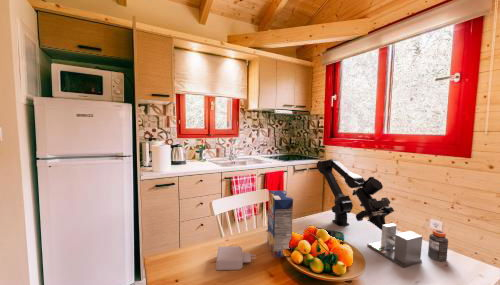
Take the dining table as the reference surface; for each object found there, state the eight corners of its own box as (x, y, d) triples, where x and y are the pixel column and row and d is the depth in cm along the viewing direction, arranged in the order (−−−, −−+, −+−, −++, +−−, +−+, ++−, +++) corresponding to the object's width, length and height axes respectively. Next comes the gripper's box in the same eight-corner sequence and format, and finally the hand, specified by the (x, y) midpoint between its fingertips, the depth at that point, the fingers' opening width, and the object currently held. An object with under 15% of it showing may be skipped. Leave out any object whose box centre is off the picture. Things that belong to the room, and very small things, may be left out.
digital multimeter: (312, 231, 112) (312, 225, 112) (343, 237, 106) (343, 231, 106) (310, 238, 105) (311, 232, 105) (344, 244, 100) (344, 238, 99)
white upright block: (376, 248, 94) (378, 225, 93) (390, 244, 97) (392, 223, 96) (387, 254, 89) (389, 231, 88) (401, 250, 92) (403, 228, 91)
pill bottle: (443, 255, 92) (445, 229, 91) (449, 263, 87) (451, 236, 86) (425, 251, 94) (428, 226, 94) (430, 259, 89) (432, 232, 88)
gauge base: (367, 245, 98) (368, 222, 97) (384, 241, 102) (386, 219, 101) (403, 267, 83) (405, 240, 82) (421, 261, 87) (424, 235, 86)
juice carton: (267, 241, 100) (268, 190, 98) (283, 240, 101) (284, 190, 99) (273, 257, 88) (275, 199, 86) (291, 256, 89) (293, 199, 87)
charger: (257, 270, 80) (216, 271, 79) (254, 255, 90) (218, 256, 88) (257, 258, 80) (216, 259, 79) (254, 244, 89) (218, 245, 88)
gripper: (362, 193, 96) (384, 228, 86) (391, 189, 103) (414, 222, 93) (347, 204, 104) (365, 238, 94) (375, 200, 111) (395, 231, 101)
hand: (386, 232), depth 96 cm, fingers closed, pressing on white upright block
